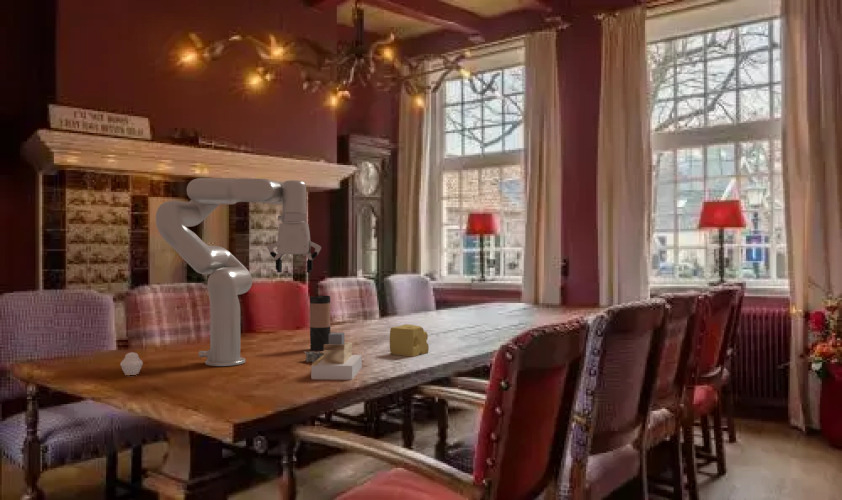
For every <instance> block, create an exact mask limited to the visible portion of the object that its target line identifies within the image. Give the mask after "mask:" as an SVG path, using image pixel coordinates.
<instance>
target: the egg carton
mask: <svg viewBox="0 0 842 500" xmlns="http://www.w3.org/2000/svg"><path fill="white" fill-rule="evenodd" d="M303 352H304V353H305V354H306V355H305V362H307V363H309V362H311V364H313V363H314V362H315V361H317V360H318V359H319V358H320V357H322V356H323V355H324V351H322V352H321V351H313V350H311V351H309V350H308V351H303Z"/></svg>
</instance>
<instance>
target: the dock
mask: <svg viewBox="0 0 842 500" xmlns="http://www.w3.org/2000/svg"><path fill="white" fill-rule="evenodd" d="M362 361H363V354H352V356H351V357H350V358H349V359H348V360H347V361H346V362H345V363H344V364H326V363H324V355H323V356H322V357H320V358H319V359H318V360H317V361H315V362H314V363H311V365H310V366H311V373H310V374H311V377H310V378H311V380H345V381H346V380H348V381H349V380H353V379H354V378H355V377H356V376H357V374H358V373H359V372H360V370H361V369H362V368H363V364H362Z"/></svg>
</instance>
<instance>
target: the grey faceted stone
mask: <svg viewBox="0 0 842 500" xmlns="http://www.w3.org/2000/svg"><path fill="white" fill-rule="evenodd" d="M143 363H144V362H143V360H142V359H140V356H139V354H138V353H137V352H133V351H131V352H128V353H126V354H125V356H124V358H123V359H122V361H120V367H121V369H122V372H123V373H124V375H125V376H126V375H136V374H138V375H139V373H140V371H141V369H142V367H143ZM136 376H137V375H136Z"/></svg>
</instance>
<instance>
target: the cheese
mask: <svg viewBox="0 0 842 500" xmlns="http://www.w3.org/2000/svg"><path fill="white" fill-rule="evenodd" d="M428 337H429V336H428V332H427V331H425V330H424V328H423V327H422V326H420V325H414V324H406V323H405V324H402V325H399V326H395V327H390V331H389V350H390V351H389V352H390V355H392V354H393V355H392V356H401V355H403V357H410V358H411V357H412V358H414V357H417V356H419V355H426V354H428V353H429V348H430V347H429V343H428V342H427V341H428Z"/></svg>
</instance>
